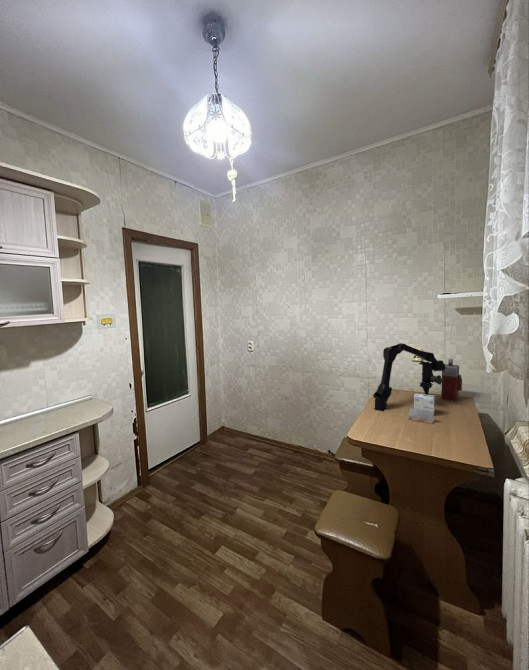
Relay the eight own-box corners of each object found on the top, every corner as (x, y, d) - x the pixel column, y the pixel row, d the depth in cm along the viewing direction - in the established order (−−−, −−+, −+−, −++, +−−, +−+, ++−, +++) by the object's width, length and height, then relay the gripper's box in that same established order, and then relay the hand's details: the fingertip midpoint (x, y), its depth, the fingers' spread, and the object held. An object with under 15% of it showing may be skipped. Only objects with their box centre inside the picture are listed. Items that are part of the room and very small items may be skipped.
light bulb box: (434, 412, 170) (434, 395, 169) (434, 416, 164) (434, 398, 163) (414, 409, 175) (414, 392, 174) (413, 413, 170) (413, 395, 169)
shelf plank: (408, 419, 160) (408, 418, 160) (409, 418, 162) (409, 417, 162) (433, 424, 153) (433, 423, 153) (433, 422, 155) (433, 421, 155)
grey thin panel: (409, 418, 162) (409, 408, 161) (409, 417, 163) (409, 407, 162) (433, 422, 155) (433, 412, 154) (433, 421, 156) (433, 411, 155)
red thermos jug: (461, 402, 186) (462, 360, 184) (441, 399, 193) (442, 359, 191) (462, 399, 193) (463, 358, 191) (443, 396, 200) (444, 357, 198)
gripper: (441, 375, 169) (440, 401, 170) (442, 370, 184) (442, 393, 185) (420, 373, 175) (419, 398, 176) (423, 368, 190) (423, 391, 191)
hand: (426, 395), depth 182 cm, fingers closed
